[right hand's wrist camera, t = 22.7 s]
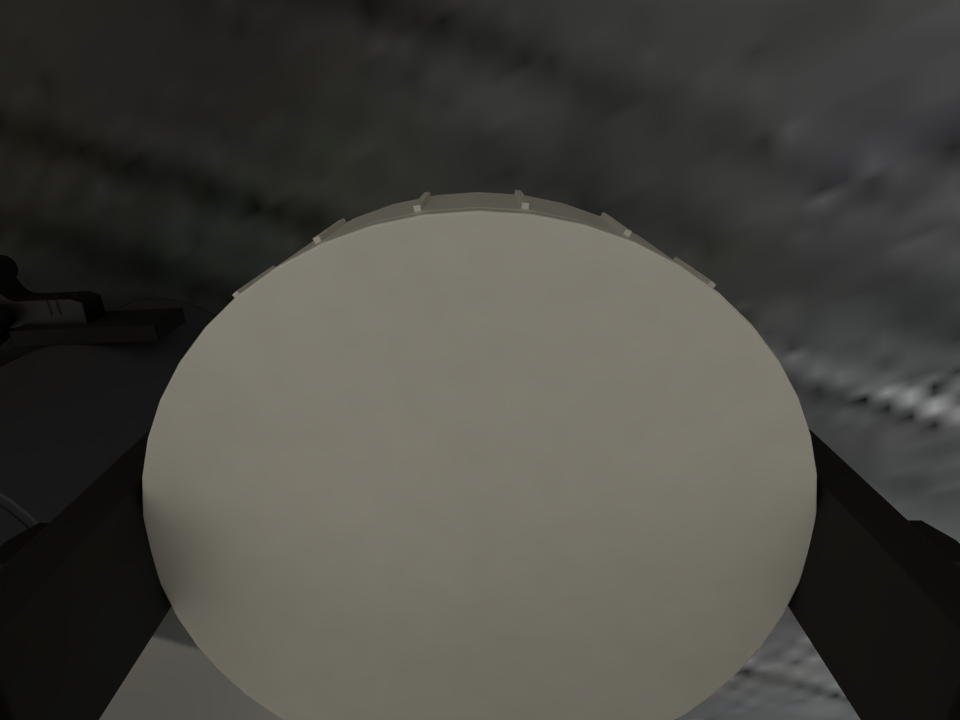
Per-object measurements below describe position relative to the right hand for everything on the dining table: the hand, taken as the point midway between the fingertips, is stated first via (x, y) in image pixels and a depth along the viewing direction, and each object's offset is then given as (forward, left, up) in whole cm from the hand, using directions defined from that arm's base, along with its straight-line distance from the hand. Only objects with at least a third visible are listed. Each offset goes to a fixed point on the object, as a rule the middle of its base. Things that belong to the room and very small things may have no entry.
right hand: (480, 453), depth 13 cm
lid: (0, 0, +3) cm, 3 cm away
